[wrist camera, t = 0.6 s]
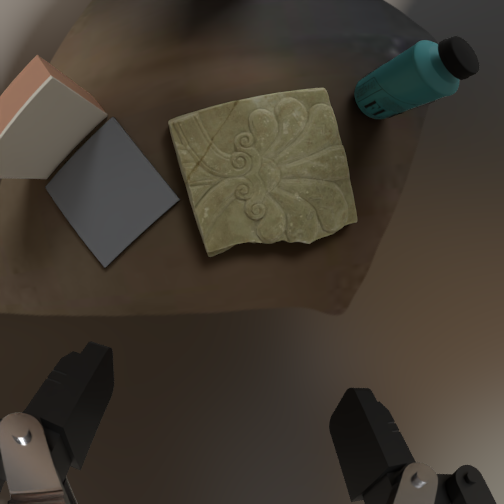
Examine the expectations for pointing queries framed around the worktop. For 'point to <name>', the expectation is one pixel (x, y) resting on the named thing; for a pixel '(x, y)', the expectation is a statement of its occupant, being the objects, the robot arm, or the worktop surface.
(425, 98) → the beverage bottle
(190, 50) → the worktop surface
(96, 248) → the mat
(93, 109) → the terracotta tile
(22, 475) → the robot arm
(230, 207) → the decorative tile
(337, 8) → the worktop surface
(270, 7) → the worktop surface
